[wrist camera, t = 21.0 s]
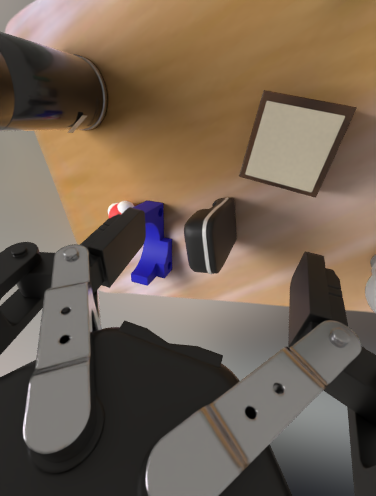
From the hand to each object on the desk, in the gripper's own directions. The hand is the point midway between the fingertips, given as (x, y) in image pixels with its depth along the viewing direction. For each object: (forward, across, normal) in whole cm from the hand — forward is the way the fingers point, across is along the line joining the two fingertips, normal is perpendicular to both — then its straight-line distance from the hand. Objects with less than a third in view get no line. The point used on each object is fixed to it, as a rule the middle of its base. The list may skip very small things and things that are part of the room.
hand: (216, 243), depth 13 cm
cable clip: (+22, +12, +18) cm, 31 cm away
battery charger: (+22, +2, +12) cm, 25 cm away
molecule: (+23, +19, +15) cm, 33 cm away
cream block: (+20, -3, 0) cm, 20 cm away
